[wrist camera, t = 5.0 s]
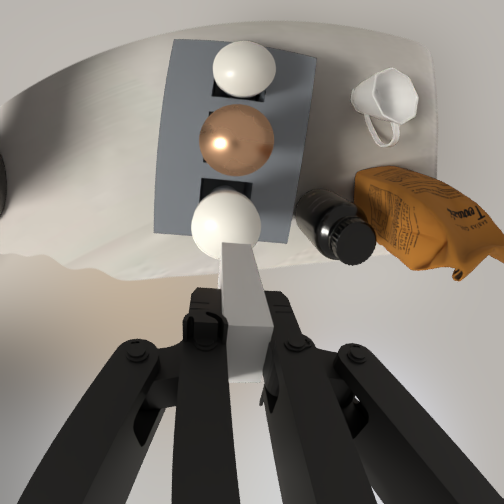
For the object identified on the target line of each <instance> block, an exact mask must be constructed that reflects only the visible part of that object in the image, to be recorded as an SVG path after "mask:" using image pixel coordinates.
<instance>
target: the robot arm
mask: <svg viewBox="0 0 504 504" xmlns="http://www.w3.org/2000/svg"><path fill="white" fill-rule="evenodd" d="M5 199H6V174H5V168H4V164H3V161H2V158H1V155H0V216H1V213H2V211H3V208H4V204H5ZM262 375H263V377H264V382H265V384H264V388H263V391H262V395H261V398H260V404H259V405H260V406H262V405H263V402H264V405H265V411H266V416H267V422H268V427H269V433H270V438H271V443H272V449H273V454H274V460H275V465H276V470H277V476H278V481H279V486H280V491H281V496H282V502H283V504H377V502H376V499H375V496H374V493H373V491H372V488H373V489H374V491H375V492H376V493H377V495H378V496H379V497H380V499H381V500H382V502H383V503H384V504H504V499H503V498H502V497H501V496H500V495H499V494H498V493H497V491H496V490H495V489H494V488H493V487H492V486H491V484H490V483H489V482H488V481H487V479H486V478H485V477H484V476H483V475H482V474H481V472H480V471H479V470H478V469H477V468H476V467H475V466H474V464H473V463H472V462H471V461H470V460H469V459H468V458H467V456H466V455H465V454H464V453H463V452H462V451H461V449H460V448H459V447H458V446H457V445H456V444H455V443H454V442H453V441H452V439H451V438H450V437H449V436H448V435H447V434H446V433H445V431H444V430H443V429H442V428H441V427H440V426H439V425H438V424H437V423H436V422H435V420H434V419H433V418H432V417H431V416H430V415H429V414H428V413H427V412H426V410H425V409H424V408H423V407H422V406H421V405H420V404H419V403H418V402H417V401H416V399H415V398H414V397H413V396H412V395H411V394H410V393H409V392H408V391H407V390H406V389H405V388H404V386H403V385H401V383H400V382H399V381H398V380H397V379H396V378H395V377H394V376H393V375H392V374H391V372H389V370H388V369H387V368H386V367H385V366H384V365H383V364H382V363H381V362H380V361H379V360H378V359H377V357H375V355H374V354H373V353H372V352H371V351H370V350H368V349H367V348H366V347H364V346H362V345H359V344H354V343H350V344H345V345H343V346H341V348H340V349H339V351H338V353H336V352H331V351H326V350H322V349H318V348H316V347H315V344H314V343H313V341H312V340H311V339H310V338H308V337H307V336H305V335H303V334H302V333H301V330H300V328H299V325H298V323H297V320H296V318H295V315H294V313H293V310H292V308H291V305H290V302H289V300H288V298H287V297H286V296H285V295H284V294H283V293H282V292H281V291H264V289H263V286H262V282H261V279H260V275H259V271H258V268H257V264H256V261H255V257H254V253H253V250H252V246H251V244H239V243H226V242H222V245H221V256H220V267H219V279H218V289H213V288H198V287H197V288H196V290H195V291H194V292H193V293H192V294H191V301H190V308H189V313H188V314H187V315H185V317H184V319H183V340H182V341H181V342H180V343H178V344H176V345H174V346H171V347H167V348H160V349H157V348H156V346H155V345H154V344H153V343H151V342H149V341H147V340H142V339H132V340H128V341H126V342H124V343H122V344H121V345H120V346H119V347H118V348H117V350H116V351H115V352H114V353H113V355H112V356H111V358H110V359H109V360H108V361H107V363H106V364H105V366H104V367H103V368H102V370H101V371H100V373H99V374H98V375H97V377H96V378H95V380H94V381H93V383H92V384H91V385H90V387H89V388H88V390H87V391H86V393H85V394H84V395H83V397H82V398H81V400H80V401H79V403H78V404H77V406H76V407H75V409H74V410H73V412H72V413H71V415H70V416H69V418H68V419H67V421H66V422H65V424H64V425H63V427H62V428H61V430H60V431H59V433H58V434H57V436H56V438H55V439H54V441H53V442H52V444H51V446H50V447H49V449H48V451H47V452H46V454H45V455H44V457H43V459H42V460H41V462H40V464H39V465H38V467H37V469H36V471H35V472H34V474H33V476H32V477H31V479H30V481H29V483H28V485H27V486H26V488H25V490H24V491H23V494H22V495H21V497H20V499H19V501H18V503H17V504H125V503H126V501H127V498H128V496H129V494H130V491H131V489H132V486H133V484H134V482H135V479H136V477H137V474H138V472H139V470H140V467H141V465H142V463H143V460H144V458H145V456H146V453H147V451H148V448H149V446H150V444H151V442H152V439H153V437H154V434H155V432H156V430H157V428H158V425H159V423H160V421H161V418H162V416H163V413H164V412H165V408H167V407H172V406H176V416H175V430H174V446H173V466H172V504H240V497H239V488H238V480H237V470H236V461H235V451H234V439H233V428H232V418H231V405H230V392H229V382H238V383H240V382H241V383H247V382H248V383H258V382H259V383H260V382H261V378H262ZM355 396H356V397H357V398H358V399H359V401H358V400H357V399H356V398H355ZM371 486H372V488H371Z"/></svg>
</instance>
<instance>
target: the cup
mask: <svg viewBox="0 0 504 504" xmlns="http://www.w3.org/2000/svg"><path fill="white" fill-rule="evenodd" d="M418 99H419V97H418V94H417V92H416V90H415V88H414V86H413V84H412V82H411V80H410V78H409V77H408V76H407V75H405V74H403V73H401V72H400V71H398V70H396V69H394V68H392V67H390V68H388V69H386V70H383V71H381V72H379V73H376V74H374V75H373V76H371V77H370V78H368V79H366V80H365V81H363V82H361V83H360V84H359V85H358V86H357V87H356V88H354V89H352V93H351V98H350V101H351V103H352V105H353V107H354V109H355V110H356V111H357V112H360V113H362V114H364V119H365V122H366V125H367V127H368V129H369V131H370V133H371V135H372V137H373V139H374V141H375V142H376V144H377V145H379V146H380V147H391V146H394V145H396V143H397V142H398V140H399V135H400V132H399V125H402V124H404V123H405V122H407V121H409V120H411V119H413V118H414V117H416V111H417V105H418ZM370 116H373V117H375V118H377V119H380V120H384V121H388V122H390V123H391V126H392V131H393V138H392V140H391V142H390V143H389V144H386V145H385V144H384V143H382V142H381V140H380V139H379V137H378V135H377V133H376V131H375V129H374V127H373V125H372V123H371V120H370Z"/></svg>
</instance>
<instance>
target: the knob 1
mask: <svg viewBox="0 0 504 504" xmlns="http://www.w3.org/2000/svg"><path fill="white" fill-rule="evenodd" d="M275 73H276V64H275V61H274V58H273V56H272V55H271V53H270V52H269V51H268V50H267V49H266V48H265V47H263V46H262V45H260V44H257V43H255V42H251V41H237V42H233V43H231V44H228V45H227V46H225V47H224V48H222V49H221V50H220V51H219V52H218V54H217V55H216V57H215V59H214V62H213V75H214V79H215V82H216V83H217V85H218V86H219V88H220V89H221V90H223V91H224V92H225V93H226V94H227V95H228V96H229V97H231V98H235V99H241V98H247V97H252V96H255V95H257V94H259V93H261V92H262V91H264V90H265V89H266V88H267V87H268V86H269V85H270V84H271V82H272V81H273V79H274V76H275Z"/></svg>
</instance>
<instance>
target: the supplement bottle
mask: <svg viewBox="0 0 504 504" xmlns="http://www.w3.org/2000/svg"><path fill="white" fill-rule="evenodd" d="M295 217H296V222H297V224H298V226H299V228H300V229H301V231H302V232H303V233H304V234H305V235H306V237H307V238H308V239H309V240H310V241H311V242H312V244H313V245H314V246H315V247H316V248H317V249H318V251H319V252H320V253H321V254H323V255H324V256H325V257H327V258H329V259H333V260H340V261H341V262H343V263H345V264H348V265H352V266H353V265H358V264H361V263H362V262H365V260H367V259H368V258H369V257H370V256H371V254H372V253H373V251H374V249H375V246H376V241H377V239H376V237H377V236H376V232H375V231H374V228H373V227H372V226H371V225H370V224H369V223H368V219H367V217H366V215H365V213H364V211H363V210H362V209H361V208H360V207H359V206H357V205H356V204H354V203H352V202H350V201H348V200H347V199H345V198H343V197H341V196H339V195H337V194H335V193H333V192H331V191H329V190H325V189H315V190H312V191H309V192H308V193H306V194H305V195H304V196H303V197H302V198H301V199H300V200H299V202H298V204H297V207H296V212H295Z"/></svg>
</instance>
